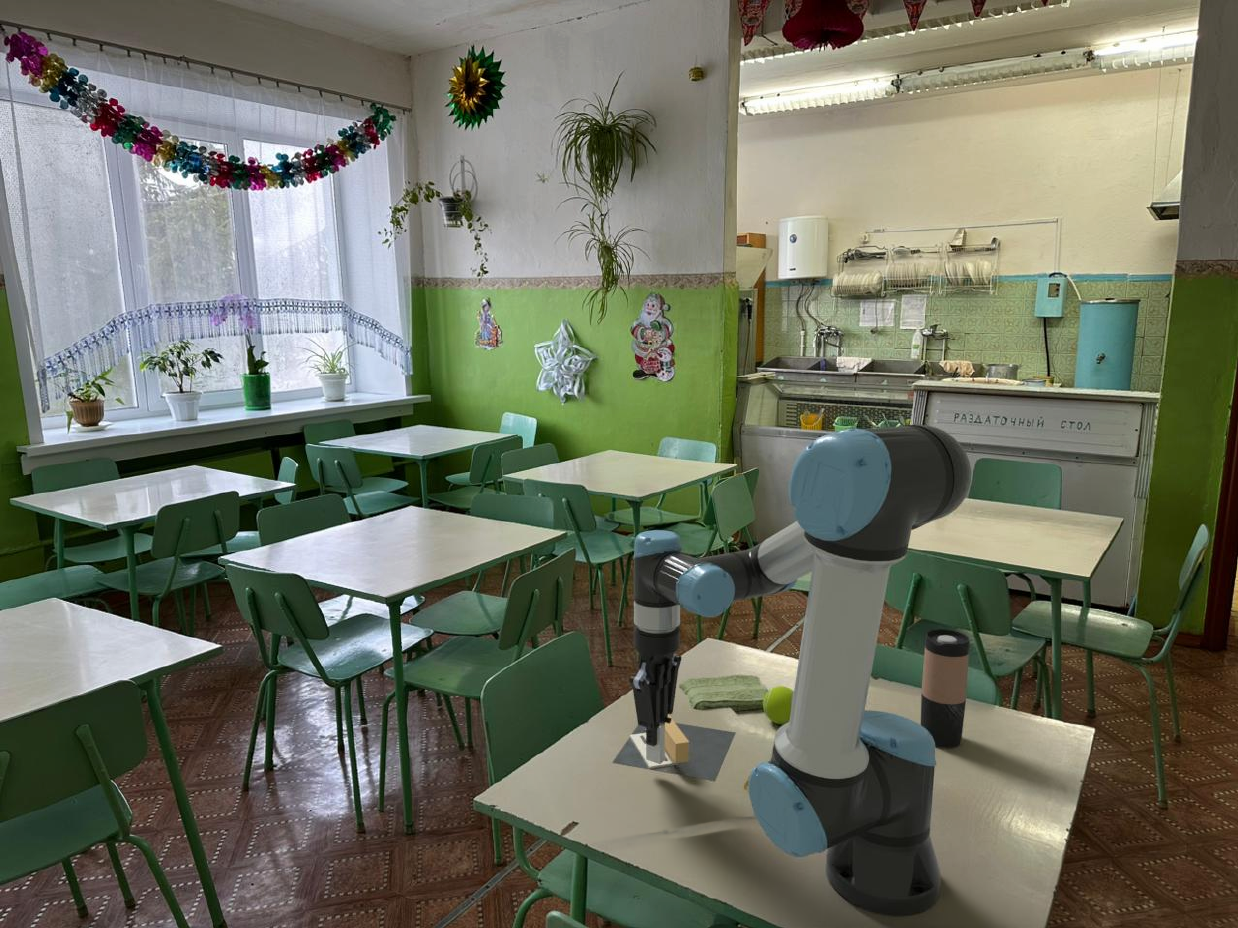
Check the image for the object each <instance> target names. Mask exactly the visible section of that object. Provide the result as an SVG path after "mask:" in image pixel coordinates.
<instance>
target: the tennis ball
mask: <svg viewBox="0 0 1238 928" xmlns="http://www.w3.org/2000/svg"><path fill="white" fill-rule="evenodd" d="M793 694H794V690H792V689H791V688H789V687H787V686H783V685H782V686H780V685H779V686H778V685H777V686H774V687H772V688H771V689H770V688H769V690H768V692H767V693H766V695H765V697H764V700H763V708H762V709H763V712H764V714H765V716H766V717H767V718H768V719H769V720H770V721H771V722H772V723H775V724H778V725H784V724H786V723H788V722H789V721H790V714H791V708H792V701H793Z"/></svg>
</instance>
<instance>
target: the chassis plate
mask: <svg viewBox="0 0 1238 928" xmlns="http://www.w3.org/2000/svg"><path fill="white" fill-rule="evenodd" d="M675 724H676V725H677V726H678V728H679V729H680V730H681V732H682V733H683V734H684V736H685V737H686V738H687V740H688V741H689V761H687V762H680V763H677V765H671V766H665V767H658V768H651V769H649V767H648V765H647V764H646V762H645V761H644V759H643V757H642V756H641V754H640V753H639V751H638V749H637V748H636V746H635V745H634V743H633V741H632V740H631V738H630V736H629V737H628V739H627V740H626V742H625V743H624V745H623V746H622V748H621V749H620V751H619V752H618V754H617V755H616V756H615V758H614V759H613V761H612V763H613V764H617V765H623V766H629V767H635V768H639V769H640V768H641V769H645V770H651V771H657V772H662V773H668V774H674V775H679V776H684V777H691V778H695V779H700V780H704V781H705V780H706V781H712V782H716V779H717V776H718V775H719V772H720V770H721V767H722V765H723V763H724V760H725V758H726V756H727V754H728V752H729V749H730V747H731V744H732V742H733V740H734V737H735V735H736V732H735V731H734V732H733V731H729V730H728V731H727V730H722V729H716V728H711V727H710V728H709V727H704V726H697V725H692V724H685V723H678V722H675ZM641 733H646V727H643V726H639V725H638V724H637V725H636V727H635V728H634V730H633V731H632V733H631V734H630V735H633V734H641Z"/></svg>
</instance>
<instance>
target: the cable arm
mask: <svg viewBox="0 0 1238 928" xmlns="http://www.w3.org/2000/svg"><path fill="white" fill-rule="evenodd" d="M668 718H672V716H670V714H668ZM675 723H676V722H675V721H674V719H672V720H671V723H666V722H665V748H666V750H667V751H668V753H669V754H670V756H671V757H672V759H673V760H674V762H675V763H680V762H687V761H689V741H688V740H687V738H686V737H685V736H684V734H683V733H682V732H681V730H680V729H679V728H678V726H677V725H676V724H675Z"/></svg>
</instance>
